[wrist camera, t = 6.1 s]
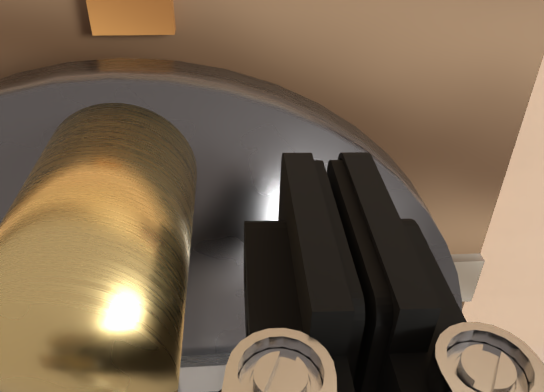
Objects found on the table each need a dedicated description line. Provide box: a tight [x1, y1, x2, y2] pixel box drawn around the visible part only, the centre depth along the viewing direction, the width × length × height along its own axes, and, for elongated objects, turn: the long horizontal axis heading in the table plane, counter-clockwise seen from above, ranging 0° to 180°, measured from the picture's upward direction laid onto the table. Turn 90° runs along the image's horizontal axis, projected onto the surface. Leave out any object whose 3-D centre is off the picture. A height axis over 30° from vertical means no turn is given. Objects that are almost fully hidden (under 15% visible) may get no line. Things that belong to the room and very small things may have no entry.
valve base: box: [0, 0, 544, 308], centre depth 19 cm, size 22×22×2 cm
